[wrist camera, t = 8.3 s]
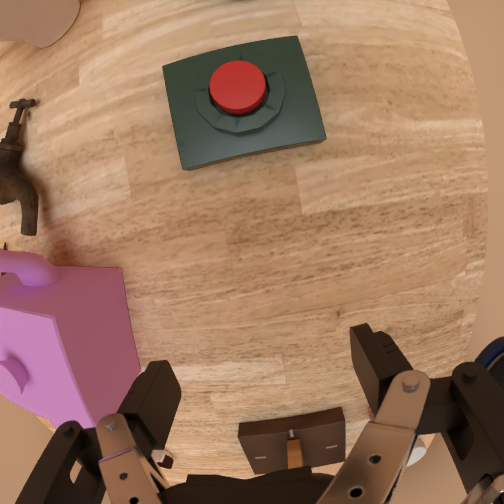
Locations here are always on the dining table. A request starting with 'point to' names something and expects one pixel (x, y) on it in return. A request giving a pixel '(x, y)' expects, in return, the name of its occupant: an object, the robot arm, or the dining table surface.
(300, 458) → the handle
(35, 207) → the faucet
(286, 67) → the switch box
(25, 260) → the teapot
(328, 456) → the panel
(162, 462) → the watch
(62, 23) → the vase
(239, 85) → the button
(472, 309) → the dining table surface
